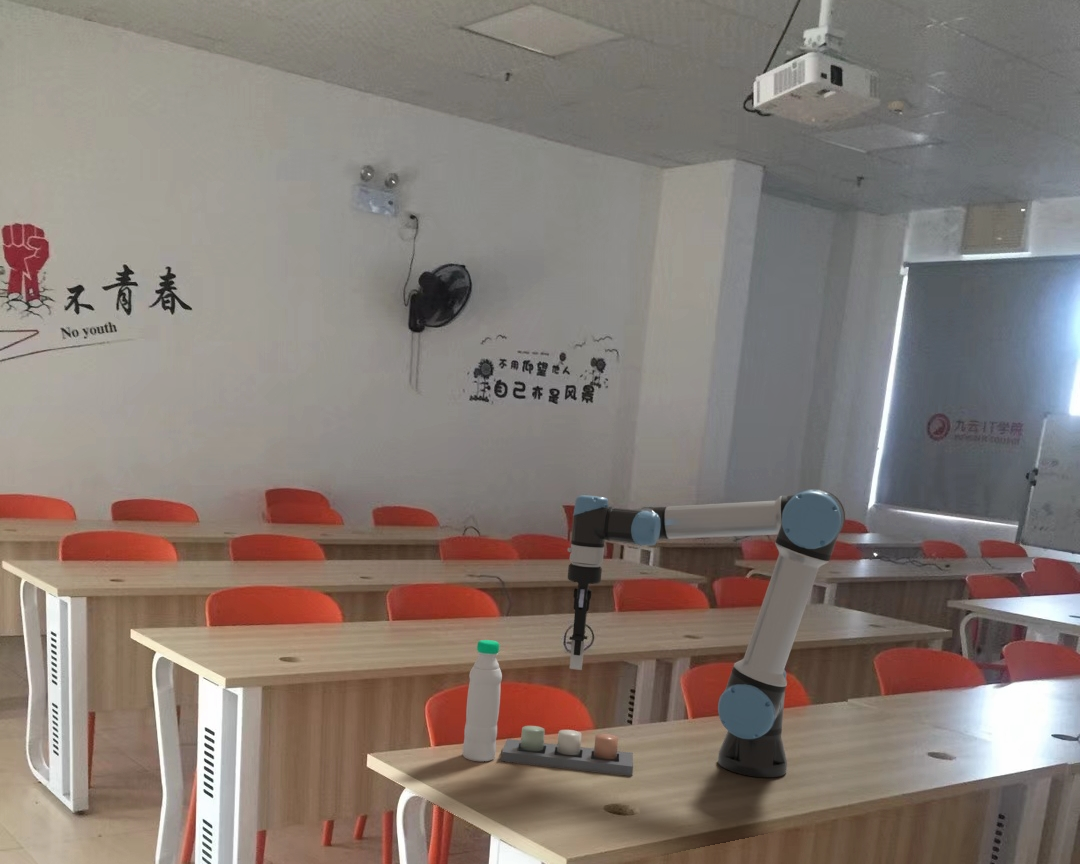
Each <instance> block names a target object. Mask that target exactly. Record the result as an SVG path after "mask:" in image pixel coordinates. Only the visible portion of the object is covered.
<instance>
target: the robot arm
mask: <svg viewBox="0 0 1080 864" xmlns="http://www.w3.org/2000/svg"><path fill="white" fill-rule="evenodd" d="M572 516H573V517H572V526H571V538H570V539H571V540H570V547H567V552H568V553H570V554H569V562H571V563H569V564H568V570H567V580H568V581H570V582H572V583H577V584H578V585H577V588H574V589H573V599H574V600H573V610H574V617H573V631H572V636H569V640H570V641H571V649H570V650H571V651H570V658H569V659H570V661H569V670H570V669H571V670H577V671H579V670H580V671H582V670H583V669H582V668H583V661H584V646H585V640H588V637H589V636H588V635H586V625H587V616H588V615H587V614H588V611H589V610H590V603H591V599H592V594H593V593H592V592H593V590H592V589H589V588H590V585H591V584H592V585H597V584H600V583H601V580H602V571H603V568H602V565H603V563H604V553H605V541H608V542H611V541H612V542H617V543H618V542H619V543H625V544H632V545H637V546H649V547H650V546H654V545H656V544H657V542H658V541H659V540H660V541H661V540H671V539H672V540H673V539H674V540H675V539H697V538H698V539H699V538H700V539H701V538H702V539H703V538H718V537H719V538H721V537H722V538H723V537H724V538H726V537H746V536H748V537H749V536H767V535H768V536H772V535H777V536H776V539H775V543H774V545H775V546H776V549H777V550H778V556H777V559H776V563H775V565H774V568H773V571H772V574H771V578H770V579H769V580H770V581H769V583H768V586H767V589H766V592H765V595H764V597H763V599H762V603H761V606H760V610H759V612H758V616H757V618H756V621H755V624H754V627H753V630H752V633H751V635H750V636H751V637H750V639H749V642H748V644H747V648H746V649H745V650H746V651H745V654H744V656H743V658H742V659H740V660H738V661H736V662H734V663H733V667H732V670H731V672H730V675H729V678H728V681H727V684H726V687H725V690H724V691H723V692H722V694H720V696H719V700H718V704H717V705H718V706H717V712H718V718H719V719H720V722H721V724H722V726H723V727H724V728H725V730H726V731H727V733H726V734H725V737H724V740H723V741H722V744H721V746H720V748H719V751H718V757H717V758H718V759H717V763H718V765H719V766H721V767H722V768H724V769H725V770H726V771H727V770H728V771H730V772H733V773H735V774H740V775H744V776H748V777H755V778H778V777H782V776H785V775H786V774H787V770H788V769H787V767H788V760H787V757H786V751H785V747H784V742H783V738H782V731H783V720H784V719H783V718H784V709H785V708H784V707H785V695H786V689H787V684H788V681H787V672H786V670H785V668H786V665H787V662H788V660H789V656H790V654H791V651H792V648H793V645H794V641H795V639H796V636H797V633H798V630H799V627H800V625H801V622H802V618H803V616H804V613H805V609H806V606H807V603H808V601H809V598H810V595H811V594H812V593H811V592H812V589H813V586H814V584H815V582H816V581H815V580H816V578H817V575H818V572H819V570H820V568H821V567H822V566H823V565H826V564H828V563H829V562H830V560H831V558H832V555H833V552H834V550H835V549H834V548H835V546H836V542H837V540H838V537H839V534H840V533H841V532H842V530H843V528H844V526H845V523H846V522H845V521H846V512H845V507H844V506H843V504H842V502H841V501H840V499H839V498H838V497H837V496H836V495H834V494H833V493H832V492H830V491H827V490H823V489H804V490H802V491H800V492H798V493H796V494H788V495H779V497H777V499H775V500H763V501H745V502H744V501H743V502H742V501H741V502H724V503H710V504H709V503H706V504H689V505H688V504H687V505H674V506H673V505H670V506H655V507H654V506H644V507H641V508H635V509H630V508H621V507H619V508H617V507H612V506H610V505H609V499H608V498H607V497H604V496H599V495H598V496H597V495H587V494H586V495H585V494H583V495H578V496H577V497H576V498H575V501H574V509H573V514H572Z"/></svg>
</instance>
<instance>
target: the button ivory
mask: <svg viewBox="0 0 1080 864" xmlns="http://www.w3.org/2000/svg"><path fill="white" fill-rule="evenodd" d="M557 744H558V745H557V751H558V752H559V753H562V754H566V755H577V754H579V753H580V747H582V746H581V744H582V732H580V731H579V730H578V731H577V730H573V729H560V730H559V731H558V736H557Z"/></svg>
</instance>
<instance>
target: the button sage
mask: <svg viewBox="0 0 1080 864" xmlns="http://www.w3.org/2000/svg"><path fill="white" fill-rule="evenodd" d="M545 731H546V730H545V728H543V727H541V726H538V725H525V726H522V728H521V735H520V737H521V738H520V740H521V746H520V747H521V748H522V749H525V750H529V751H540V750H543V747H544V743H545V734H546V733H545Z"/></svg>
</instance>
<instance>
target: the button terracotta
mask: <svg viewBox="0 0 1080 864" xmlns="http://www.w3.org/2000/svg"><path fill="white" fill-rule="evenodd" d="M618 745H619V737H618V736H617V735H614V734H609V733H597V734H595V737H594V745H593V746H594V747H593V748H594V756H596V757H598V758H602V759H615V758H616V757H617V751H618V750H619V749H618V747H619V746H618Z"/></svg>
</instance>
